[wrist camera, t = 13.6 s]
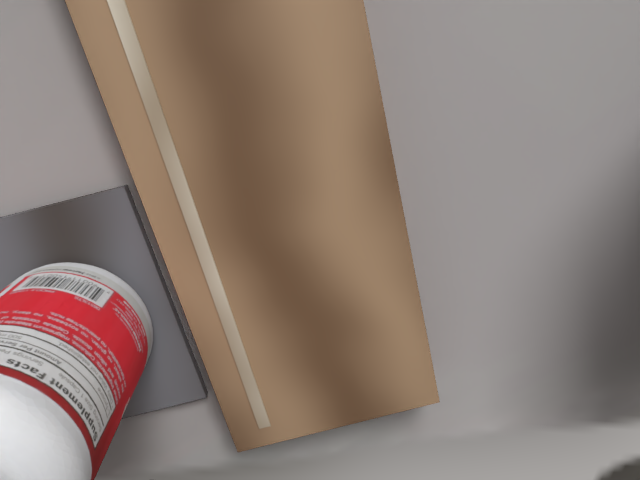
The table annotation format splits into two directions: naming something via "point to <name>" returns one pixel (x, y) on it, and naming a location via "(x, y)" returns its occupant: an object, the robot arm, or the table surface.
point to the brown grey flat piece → (249, 212)
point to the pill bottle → (66, 368)
